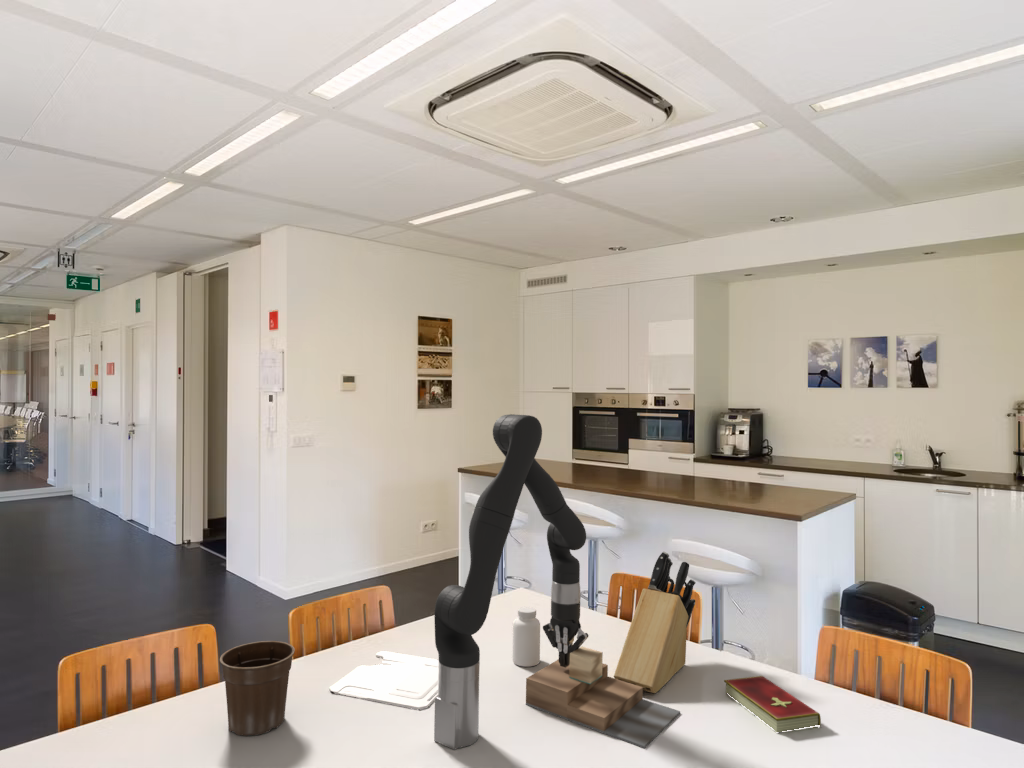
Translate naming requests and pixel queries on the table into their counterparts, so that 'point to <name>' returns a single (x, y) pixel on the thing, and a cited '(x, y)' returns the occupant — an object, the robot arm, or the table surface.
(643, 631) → the knife block
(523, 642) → the pill bottle
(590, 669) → the maple cube
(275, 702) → the plant pot
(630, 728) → the walnut staircase
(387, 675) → the tray
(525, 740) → the table surface
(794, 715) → the hardcover book
